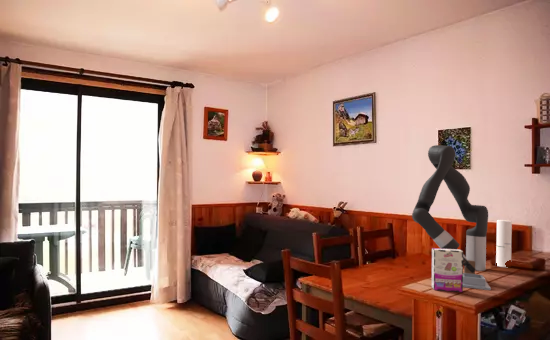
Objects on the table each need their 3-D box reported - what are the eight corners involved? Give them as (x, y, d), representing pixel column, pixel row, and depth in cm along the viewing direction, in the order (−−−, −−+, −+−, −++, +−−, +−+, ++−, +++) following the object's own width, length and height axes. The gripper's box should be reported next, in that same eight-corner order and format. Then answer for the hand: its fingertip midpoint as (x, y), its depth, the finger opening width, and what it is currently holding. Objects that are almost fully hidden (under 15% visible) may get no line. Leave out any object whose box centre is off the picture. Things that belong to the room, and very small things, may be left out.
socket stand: (456, 280, 176) (456, 271, 176) (485, 283, 172) (486, 274, 172) (458, 286, 165) (458, 277, 165) (490, 290, 160) (490, 280, 161)
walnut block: (464, 278, 181) (464, 259, 181) (473, 279, 180) (474, 260, 180) (465, 280, 177) (465, 261, 178) (474, 281, 176) (475, 262, 176)
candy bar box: (459, 289, 160) (460, 249, 161) (463, 292, 155) (463, 251, 156) (430, 287, 162) (431, 247, 163) (433, 290, 157) (434, 249, 158)
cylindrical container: (513, 267, 211) (513, 221, 212) (498, 266, 212) (499, 220, 213) (508, 265, 218) (508, 220, 218) (494, 264, 219) (494, 219, 220)
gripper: (453, 238, 175) (481, 267, 171) (451, 235, 188) (477, 261, 184) (440, 249, 177) (468, 278, 172) (439, 245, 190) (464, 271, 186)
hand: (472, 269), depth 178 cm, fingers open, 8 cm apart
